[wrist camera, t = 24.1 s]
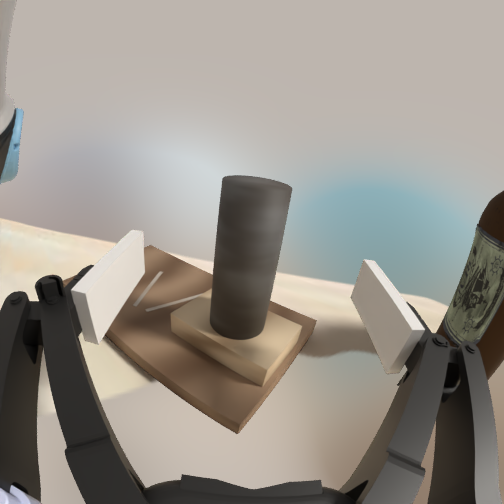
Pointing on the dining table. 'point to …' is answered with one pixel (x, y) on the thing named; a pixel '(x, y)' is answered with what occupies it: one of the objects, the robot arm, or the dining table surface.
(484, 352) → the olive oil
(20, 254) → the dining table surface
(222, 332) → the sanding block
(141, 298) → the walnut board
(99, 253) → the dining table surface
